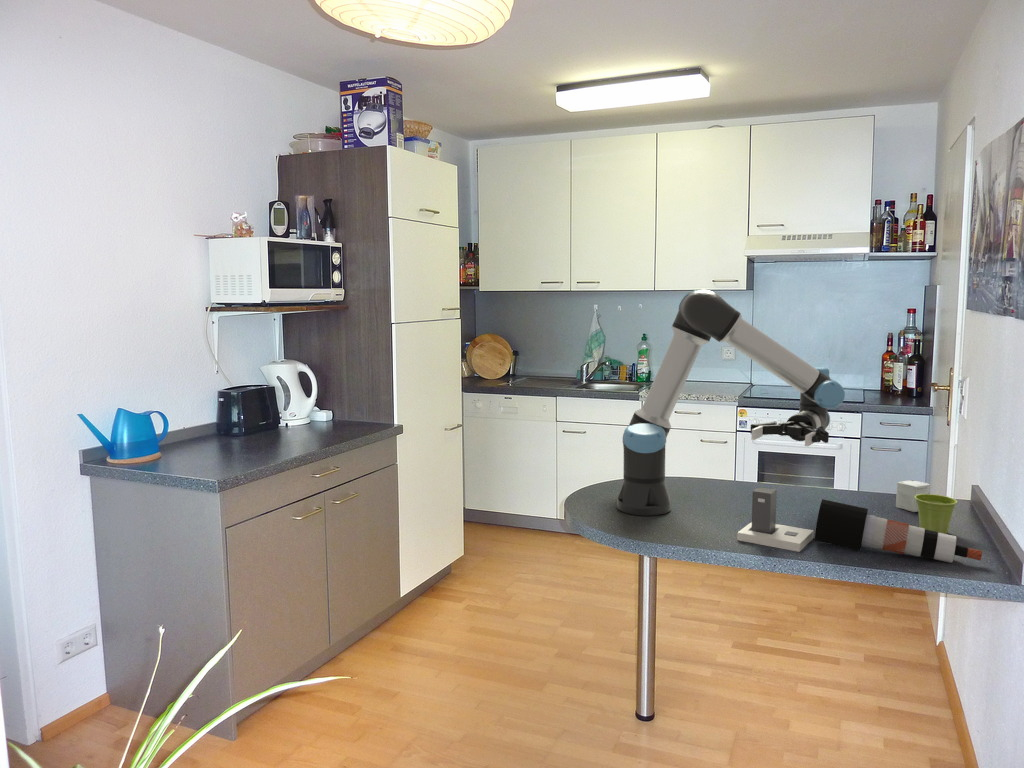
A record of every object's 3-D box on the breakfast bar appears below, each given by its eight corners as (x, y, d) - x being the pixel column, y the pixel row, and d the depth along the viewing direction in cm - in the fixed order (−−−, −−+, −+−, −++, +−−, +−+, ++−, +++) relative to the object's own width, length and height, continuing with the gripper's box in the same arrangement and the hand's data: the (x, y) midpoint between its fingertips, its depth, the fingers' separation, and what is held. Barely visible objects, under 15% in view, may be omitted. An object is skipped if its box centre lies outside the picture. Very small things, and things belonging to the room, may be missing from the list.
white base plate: (737, 540, 189) (737, 531, 188) (753, 527, 198) (753, 519, 198) (799, 551, 180) (799, 542, 180) (813, 538, 189) (813, 529, 189)
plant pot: (936, 525, 199) (938, 492, 197) (964, 536, 189) (966, 502, 188) (904, 527, 197) (906, 494, 196) (930, 539, 188) (932, 504, 187)
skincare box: (914, 512, 210) (915, 486, 209) (895, 507, 215) (896, 481, 214) (929, 509, 212) (930, 484, 211) (910, 504, 218) (911, 479, 217)
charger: (751, 538, 190) (752, 491, 189) (757, 533, 194) (758, 487, 193) (769, 541, 188) (770, 493, 186) (775, 536, 191) (776, 489, 190)
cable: (976, 587, 169) (985, 556, 163) (813, 549, 184) (816, 518, 178) (977, 555, 176) (986, 523, 170) (820, 520, 191) (824, 490, 186)
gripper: (849, 444, 206) (829, 458, 189) (757, 434, 220) (731, 446, 203) (851, 417, 205) (831, 428, 188) (759, 408, 219) (732, 418, 203)
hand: (779, 437), depth 196 cm, fingers open, 13 cm apart
